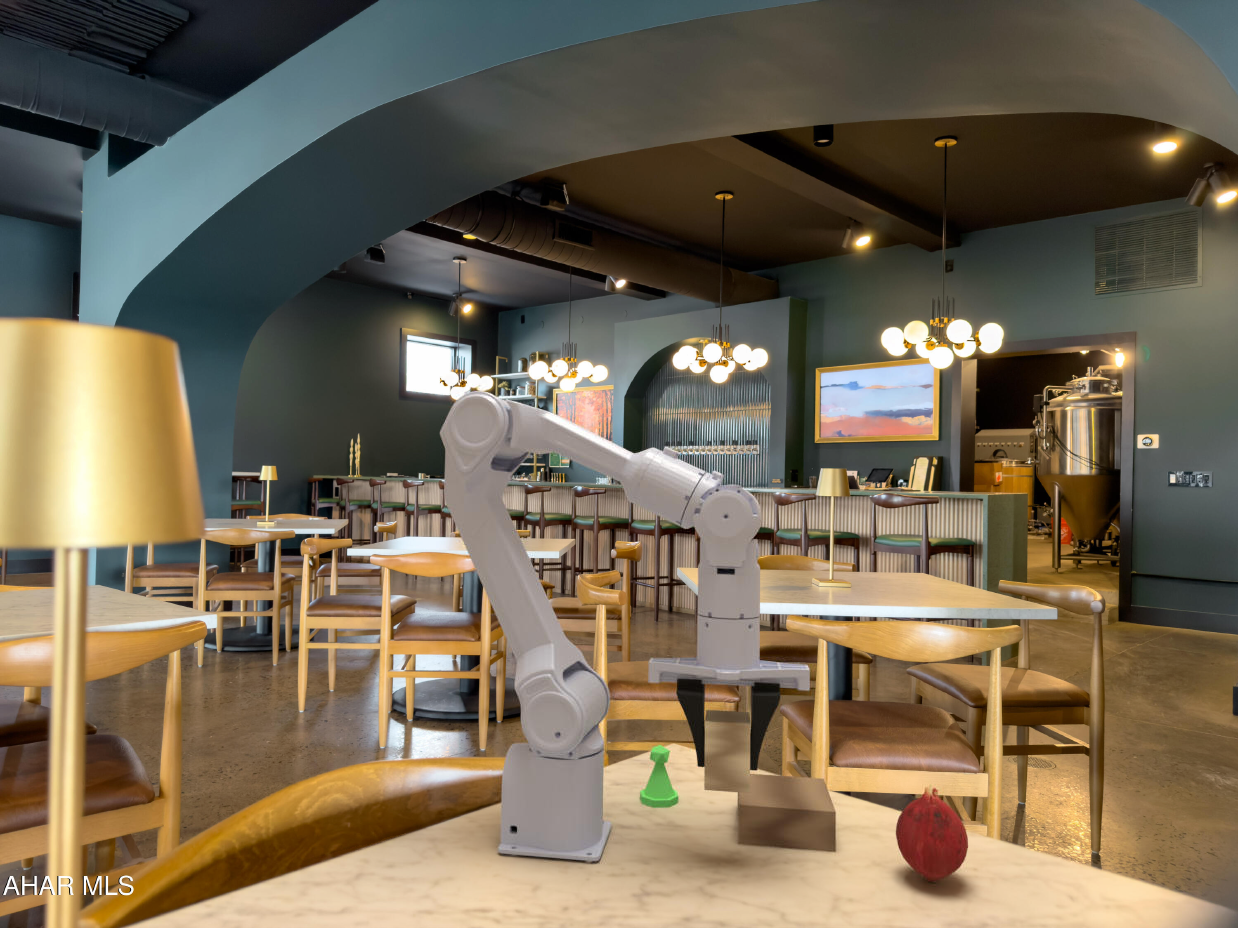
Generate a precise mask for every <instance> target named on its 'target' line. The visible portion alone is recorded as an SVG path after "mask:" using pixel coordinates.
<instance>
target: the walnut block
mask: <svg viewBox="0 0 1238 928" xmlns="http://www.w3.org/2000/svg"><path fill="white" fill-rule="evenodd" d="M836 817H837V811H836V809H835V806H834V803H833V801H832V798H831V794H830V792H829V790H828V787H827V785H826V781H825V778H821V777H820V778H819V777H818V778H817V777H804V776H790V775H789V776H788V775H777V774H760V773H759V774H758V773H750V793H740V792H737V829H738V844H739V845H741V846H742V845H743V846H753V847H755V846H756V847H767V848H779V849H781V848H782V849H794V850H806V851H818V852H819V851H821V852H829V853H831V852H832V853H836V851H837V850H836V849H837V848H836V847H837V846H836V845H837V844H836V843H837V842H836V841H837V839H836V835H837V833H836V831H837V829H836V825H837V823H836V821H837V818H836Z"/></svg>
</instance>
